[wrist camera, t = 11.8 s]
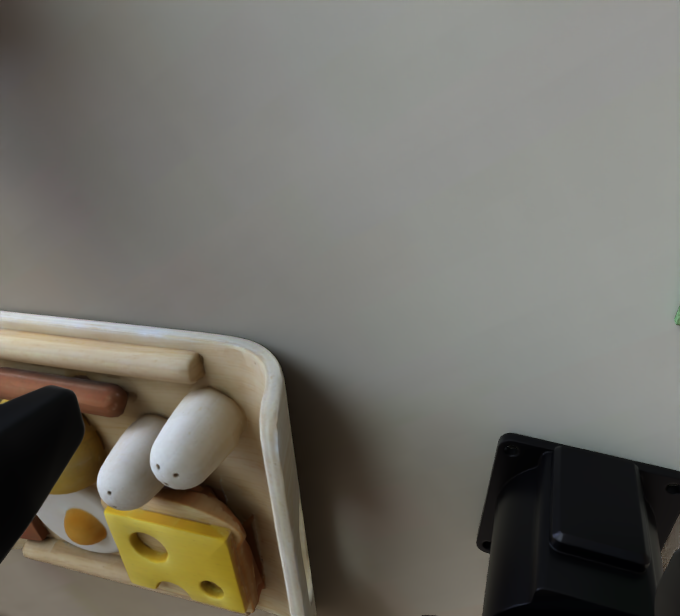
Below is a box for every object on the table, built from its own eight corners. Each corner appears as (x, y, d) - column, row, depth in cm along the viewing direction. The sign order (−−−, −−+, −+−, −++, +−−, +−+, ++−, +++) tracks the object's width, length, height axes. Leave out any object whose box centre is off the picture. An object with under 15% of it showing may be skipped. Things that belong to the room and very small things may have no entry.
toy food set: (-8, 527, 40) (-114, 635, 34) (-137, 289, 31) (-315, 376, 25) (353, 624, 32) (302, 787, 26) (322, 344, 23) (232, 492, 17)
